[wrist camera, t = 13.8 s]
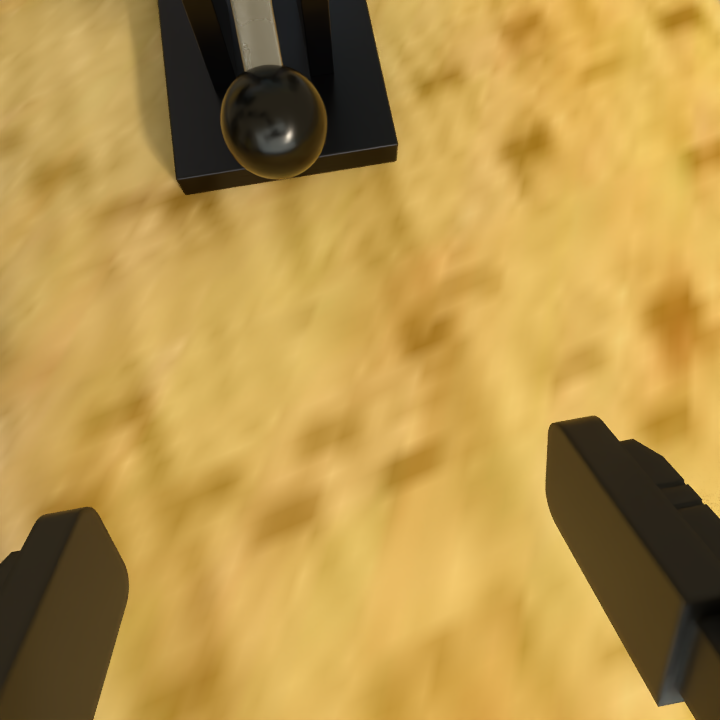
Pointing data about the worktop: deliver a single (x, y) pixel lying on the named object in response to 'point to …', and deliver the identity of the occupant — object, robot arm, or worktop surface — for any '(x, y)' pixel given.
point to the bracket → (298, 50)
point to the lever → (270, 102)
